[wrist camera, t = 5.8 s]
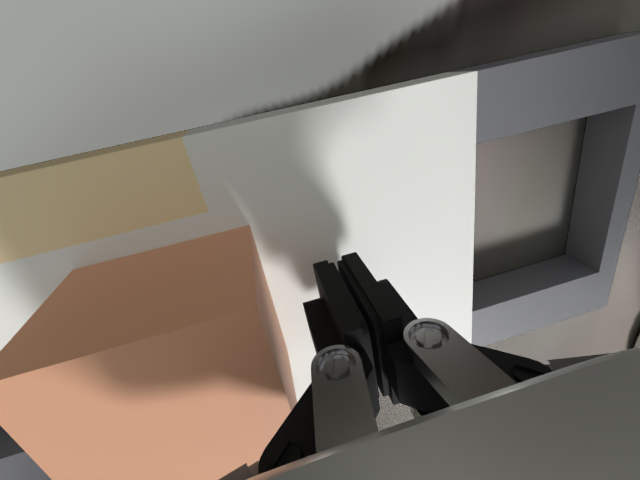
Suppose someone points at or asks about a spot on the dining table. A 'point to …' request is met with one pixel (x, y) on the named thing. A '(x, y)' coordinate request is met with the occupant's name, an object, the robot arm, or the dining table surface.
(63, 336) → the terracotta block
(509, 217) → the dining table surface
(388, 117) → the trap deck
